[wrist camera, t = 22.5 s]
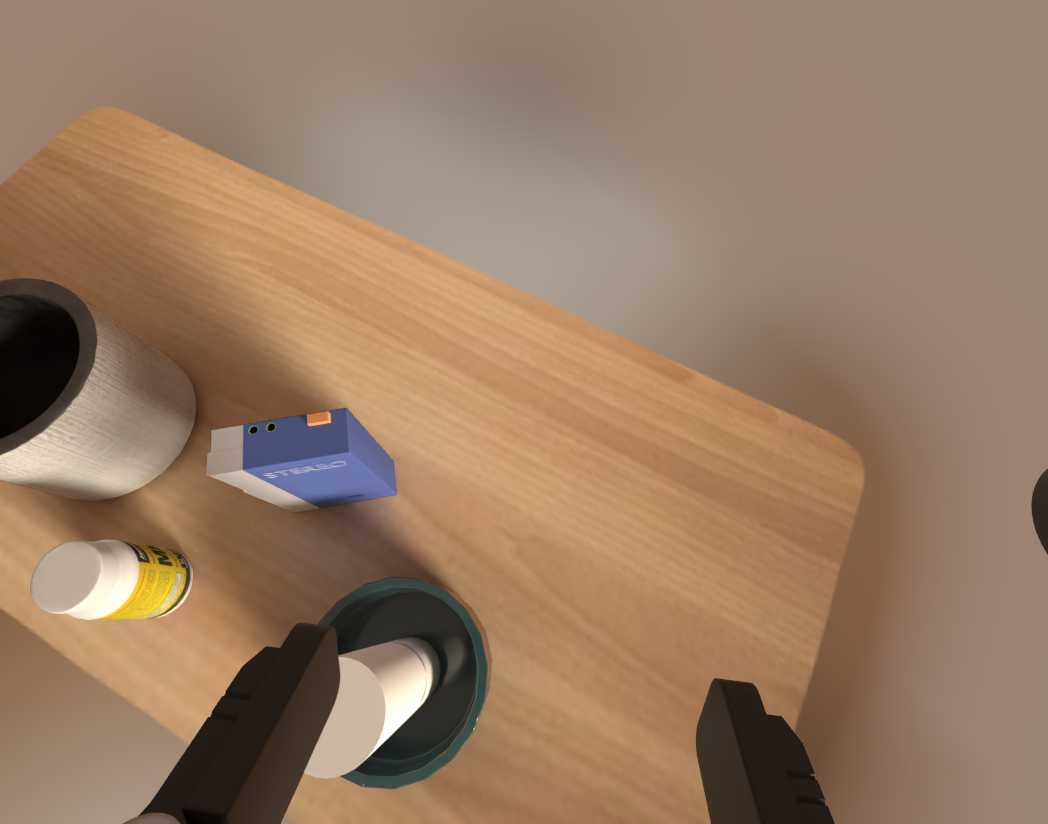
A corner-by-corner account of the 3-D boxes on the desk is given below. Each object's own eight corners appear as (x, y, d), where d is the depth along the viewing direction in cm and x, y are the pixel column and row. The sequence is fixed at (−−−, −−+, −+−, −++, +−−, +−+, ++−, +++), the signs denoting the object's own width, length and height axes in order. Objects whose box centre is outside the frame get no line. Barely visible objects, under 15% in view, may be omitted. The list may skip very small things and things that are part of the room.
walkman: (393, 460, 41) (344, 404, 30) (396, 495, 40) (347, 451, 29) (291, 477, 40) (202, 427, 29) (292, 513, 39) (200, 475, 28)
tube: (379, 714, 34) (279, 789, 20) (373, 643, 36) (277, 668, 22) (444, 700, 34) (390, 765, 20) (436, 631, 36) (380, 647, 22)
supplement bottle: (207, 559, 38) (125, 547, 30) (175, 626, 37) (79, 632, 29) (149, 541, 39) (53, 524, 31) (114, 606, 37) (4, 606, 29)
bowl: (516, 617, 37) (515, 618, 32) (451, 793, 33) (439, 824, 28) (373, 557, 38) (352, 550, 34) (296, 720, 35) (260, 738, 30)
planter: (177, 507, 39) (52, 471, 29) (14, 499, 40) (-168, 460, 29) (219, 357, 44) (124, 279, 33) (72, 351, 44) (-68, 271, 34)
